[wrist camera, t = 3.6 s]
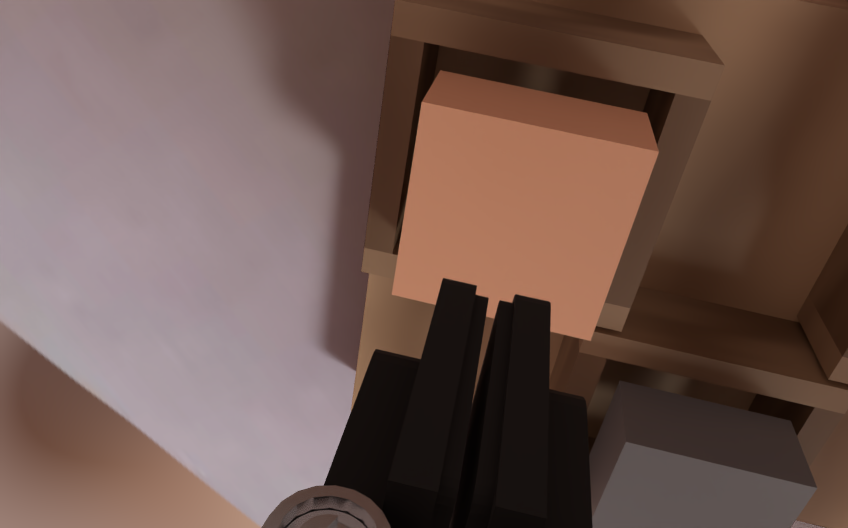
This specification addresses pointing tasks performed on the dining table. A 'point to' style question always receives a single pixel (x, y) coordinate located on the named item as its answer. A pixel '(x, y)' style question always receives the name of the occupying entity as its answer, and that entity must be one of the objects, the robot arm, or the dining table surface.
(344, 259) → the dining table surface
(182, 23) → the dining table surface
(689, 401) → the charcoal key
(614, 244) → the terracotta key
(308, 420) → the dining table surface
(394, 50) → the wooden shape sorter board
